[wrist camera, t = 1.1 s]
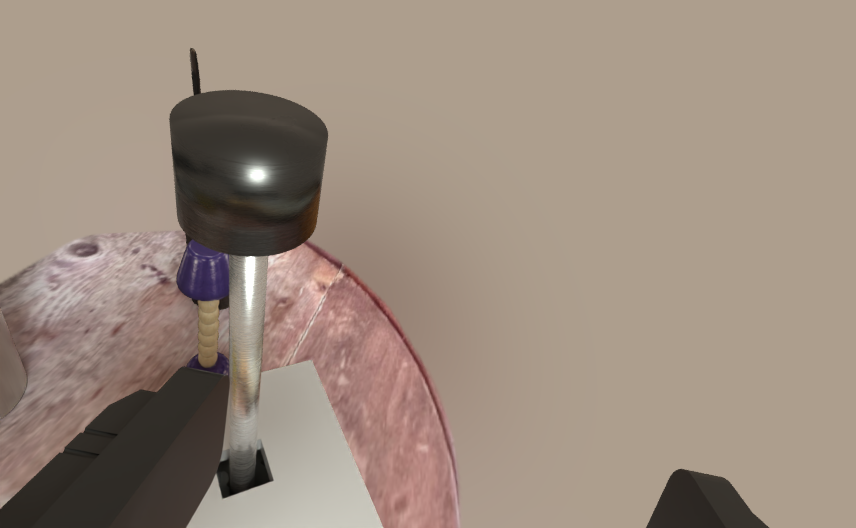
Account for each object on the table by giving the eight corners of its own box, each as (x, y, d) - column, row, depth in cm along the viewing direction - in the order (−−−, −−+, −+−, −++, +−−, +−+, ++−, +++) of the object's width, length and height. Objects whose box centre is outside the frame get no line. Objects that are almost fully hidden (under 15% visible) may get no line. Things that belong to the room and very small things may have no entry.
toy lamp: (243, 362, 52) (247, 234, 42) (226, 400, 49) (224, 270, 38) (196, 351, 52) (187, 219, 41) (174, 389, 48) (159, 254, 38)
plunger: (154, 492, 30) (67, 54, 14) (288, 448, 34) (339, 68, 18) (177, 641, 25) (84, 231, 9) (329, 569, 29) (449, 197, 13)
